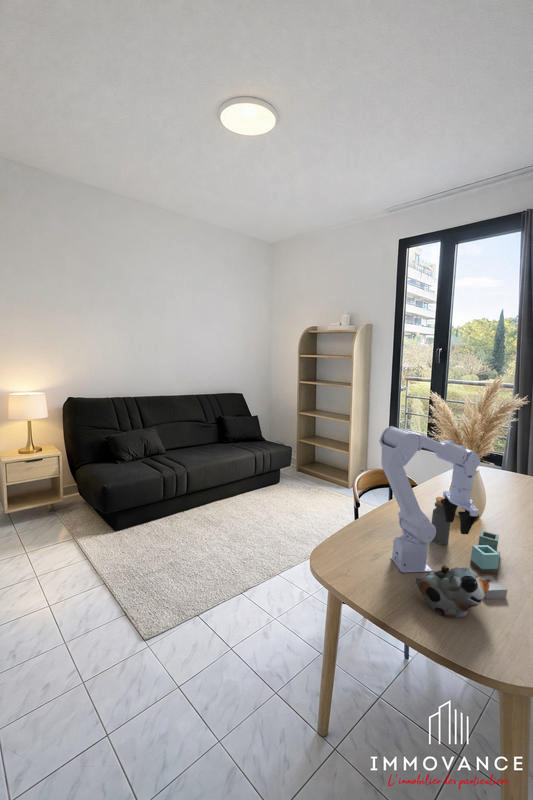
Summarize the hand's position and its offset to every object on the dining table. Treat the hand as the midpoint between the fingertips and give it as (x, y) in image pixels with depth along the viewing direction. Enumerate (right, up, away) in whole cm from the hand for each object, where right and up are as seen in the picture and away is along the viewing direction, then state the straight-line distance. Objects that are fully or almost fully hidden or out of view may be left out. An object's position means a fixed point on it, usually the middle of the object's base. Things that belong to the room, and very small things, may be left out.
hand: (456, 527), depth 115 cm
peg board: (+8, -11, -2) cm, 14 cm away
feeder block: (+1, -13, -14) cm, 19 cm away
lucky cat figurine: (-12, -13, -20) cm, 27 cm away
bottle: (0, -9, +12) cm, 15 cm away
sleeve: (+5, -10, -6) cm, 13 cm away
